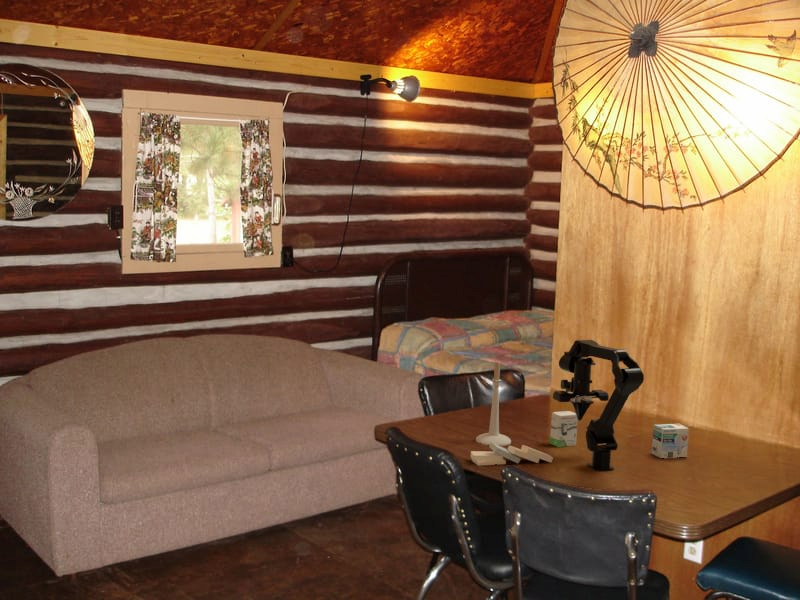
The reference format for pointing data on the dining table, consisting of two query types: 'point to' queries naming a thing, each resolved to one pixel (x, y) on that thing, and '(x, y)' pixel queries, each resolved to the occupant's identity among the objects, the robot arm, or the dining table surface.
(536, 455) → the domino
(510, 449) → the domino
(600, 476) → the dining table surface
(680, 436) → the light bulb box
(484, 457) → the domino
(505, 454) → the domino
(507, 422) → the dining table surface
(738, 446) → the dining table surface
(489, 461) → the domino
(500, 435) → the candlestick
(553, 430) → the ink box
